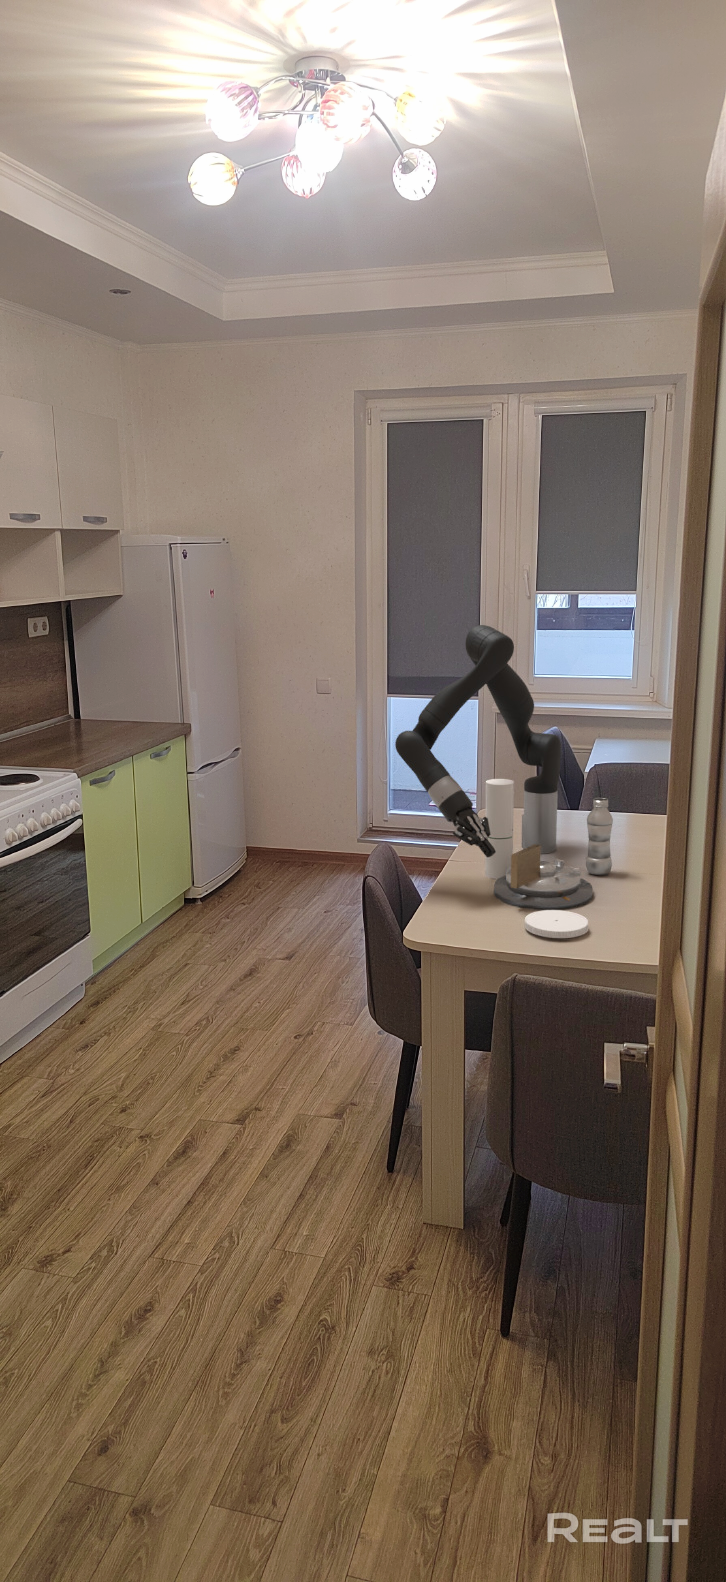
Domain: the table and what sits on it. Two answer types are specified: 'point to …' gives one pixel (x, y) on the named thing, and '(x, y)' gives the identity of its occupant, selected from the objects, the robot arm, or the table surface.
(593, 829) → the plastic bottle
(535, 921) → the plastic lid
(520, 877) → the round mechanism with board
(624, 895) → the table surface
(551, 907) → the base plate
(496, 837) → the cylindrical container
